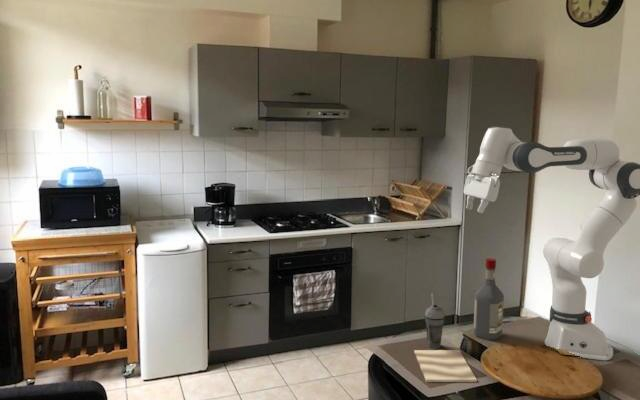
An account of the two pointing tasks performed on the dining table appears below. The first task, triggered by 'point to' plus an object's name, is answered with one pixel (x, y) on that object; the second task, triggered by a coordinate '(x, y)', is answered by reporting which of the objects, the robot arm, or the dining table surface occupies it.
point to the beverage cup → (434, 325)
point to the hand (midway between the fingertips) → (474, 210)
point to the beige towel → (444, 366)
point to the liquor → (488, 306)
